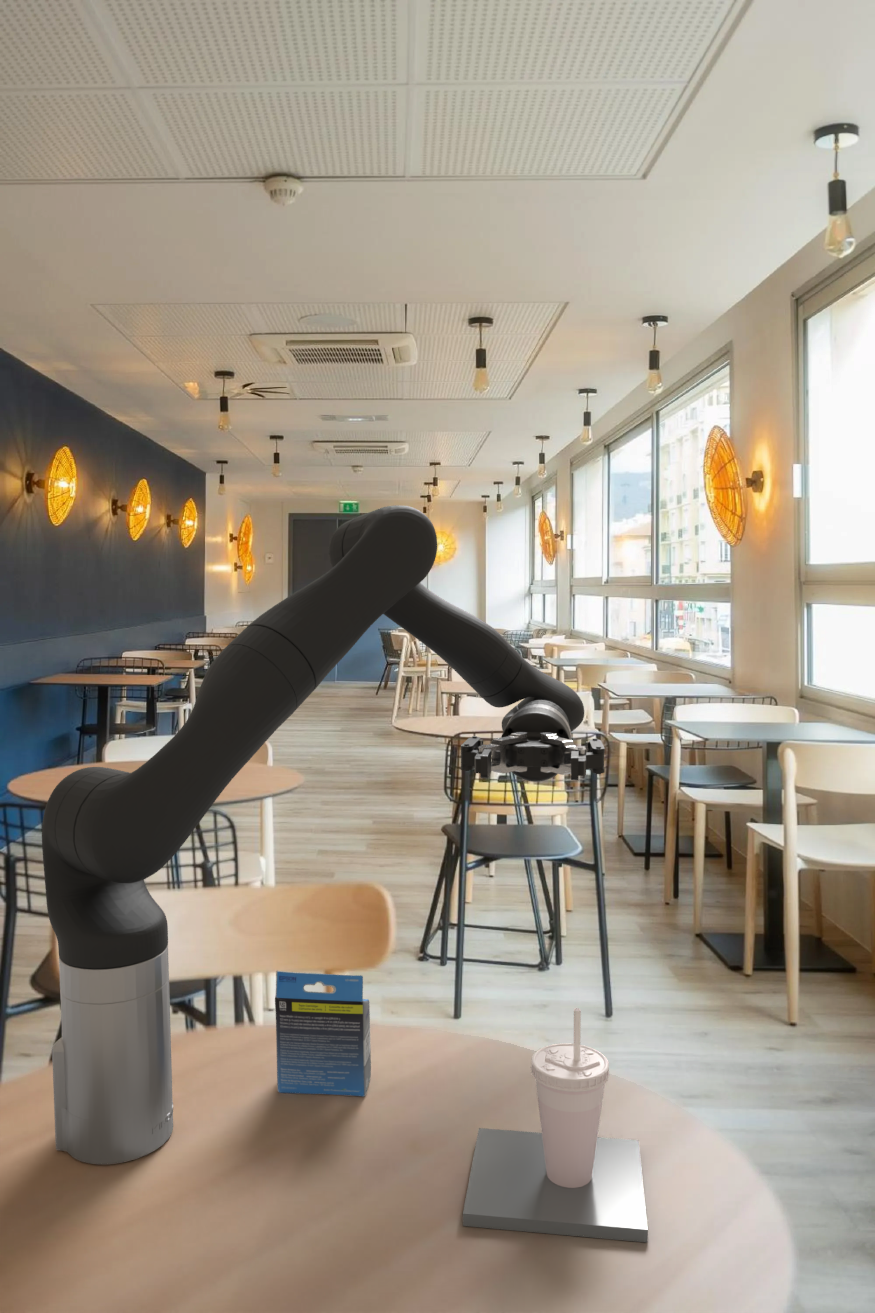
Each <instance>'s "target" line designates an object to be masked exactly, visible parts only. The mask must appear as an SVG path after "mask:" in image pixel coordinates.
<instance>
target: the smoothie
mask: <svg viewBox="0 0 875 1313" xmlns="http://www.w3.org/2000/svg"><path fill="white" fill-rule="evenodd" d="M581 1011H582V1010H581V1008H579V1007H575V1008H573V1043H570V1042H565V1043H564V1042H563V1043H562V1042H561V1043H560V1042H559V1043H553V1044H548V1045H544V1046H542V1047H540V1048H539V1049H538V1050H536V1051H535V1052H534V1053H533V1054H532V1056H531V1066H530V1074H531V1076H532V1077H533V1078H534V1080H535V1088H536V1095H537V1096H536V1097H537V1104H538V1112H539V1121H540V1128H541V1129H540V1130H541V1133H542V1138H543V1147H544V1155H545V1164H546V1172H547V1176H548V1178H549V1179H550V1180H551V1181H552V1182H553V1183H555V1184H557V1185H559V1186H562V1187H567V1188H577V1187H582V1186H584V1185H586V1184H588V1183H589V1182H590V1181H591V1178H592V1172H593V1165H594V1157H595V1150H596V1143H597V1137H599V1135H598V1134H599V1129H600V1128H599V1127H600V1122H601V1120H600V1119H601V1114H602V1113H601V1112H602V1105H603V1099H604V1093H605V1084H606V1083H607V1082H608V1081H609V1078H610V1075H611V1073H610V1062H609V1060H608V1058H607V1056H605V1055H604V1054H603V1053H602V1052H600V1051H599V1050H598V1049H595V1048H593V1047H590V1046H587V1045H584V1044H581V1038H582V1037H581V1034H582V1033H581V1031H582V1030H581V1029H582V1028H581V1027H582V1026H581V1025H582V1024H581V1022H582V1021H581V1020H582V1018H581V1017H582V1012H581Z"/></svg>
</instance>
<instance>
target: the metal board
mask: <svg viewBox="0 0 875 1313" xmlns="http://www.w3.org/2000/svg"><path fill="white" fill-rule="evenodd" d="M477 1130H478V1131H477V1136H476V1142H475V1148H474V1153H473V1158H472V1162H471V1168H470V1173H469V1177H468V1178H469V1180H468V1184H467V1190H466V1193H465V1194H466V1195H465V1199H464V1205H463V1212H462V1227H472V1228H480V1229H481V1228H482V1229H494V1230H505V1231H516V1232H528V1233H538V1234H549V1235H550V1234H551V1235H560V1236H571V1237H583V1238H593V1239H604V1240H615V1241H627V1242H636V1243H637V1242H640V1243H648V1242H649V1241H648V1240H649V1237H648V1236H649V1228H648V1218H647V1209H646V1198H645V1189H644V1188H645V1187H644V1178H643V1170H642V1159H641V1158H642V1157H641V1149H640V1140H639V1139H630V1138H617V1137H616V1138H615V1137H607V1136H606V1137H603V1136H597V1143H596V1150H595V1157H594V1165H593V1172H592V1178H591V1181H590V1182H589V1183H588V1184H586V1185H584V1186H582V1187H577V1188H567V1187H562V1186H559V1185H557V1184H555V1183H553V1182H552V1181H551V1180H550V1179H549V1178H548V1176H547V1172H546V1164H545V1155H544V1147H543V1138H542V1132H536V1131H524V1130H509V1129H498V1128H497V1129H496V1128H485V1127H484V1128H483V1127H478V1129H477Z"/></svg>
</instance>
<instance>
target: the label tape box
mask: <svg viewBox="0 0 875 1313" xmlns="http://www.w3.org/2000/svg"><path fill="white" fill-rule="evenodd" d="M317 983H319V984H321V985H322V987H331V988H333V991H332V992H328V991H327V992H325V991H308V990H306V989H305V986H315V985H316V984H317ZM363 991H364V976H363V975H362V974H360V975H359V974H358V975H357V974H356V975H355V974H335V973H334V974H333V973H331V974H330V973H318V972H315V973H314V972H293V971H282V970H276V971H275V996H274V997H275V998H274V1007H275V1036H276V1039H275V1040H276V1041H275V1042H276V1079H277V1080H276V1082H277V1083H276V1084H277V1085H276V1086H277V1092H278V1093H279V1094H296V1095H297V1094H298V1095H299V1094H300V1095H302V1094H303V1095H334V1096H351V1097H353V1096H356V1097H366V1095H367V1093H368V1092H367V1091H368V1087H369V1085H370V1081H371V1076H372V1060H371V1059H372V1055H371V1053H372V1052H371V1050H372V1049H371V1048H372V1047H371V1045H372V1044H371V1019H370V1018H371V1013H370V1012H371V1011H370V1007H371V1006H370V1000H369V998H367V999H364V998H363V997H364V996H363V995H364V994H363V993H364V992H363Z"/></svg>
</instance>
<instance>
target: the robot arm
mask: <svg viewBox="0 0 875 1313" xmlns="http://www.w3.org/2000/svg"><path fill="white" fill-rule="evenodd" d="M437 537H438V536H437V532H436V529H435V527H434V524H433V522H432V521H431V520H430V519H429V517H428V516H427V515H426V514H425V513H423V512H422V511H421V510H419V509H417V508H415V507H412V506H409V505H399V504H396V505H394V504H393V505H387V506H383V507H380V508H377V509H375V510H372V511H369V512H366V513H364V514H361V515H359V516H356V517H354V518H351V519H350V520H347V521H344V523H342V524H341V525H339V526H338V527H337V528H336V529H335V531H334V532H333V534H332V535H331V537H330V541H329V545H328V558H329V562H330V566H331V569H329V570H328V571H327V572H325V573H324V574H323V575H321V576H320V577H319V578H317V579H315V580H314V581H312V582H310V583H309V584H307V585H305V586H303V587H302V588H301V589H298V590H297V591H295V592H293V593H292V594H290V595H289V596H287V597H286V598H284V599H282V600H280V602H278V603H277V604H275V605H274V606H272V607H271V608H268V609H267V610H266V611H265V612H263V613H262V614H260V615H259V616H258V617H257V618H256V619H255V620H253V621H251V623H250V624H248V625H247V626H246V627H245V628H244V629H243V630H242V631H241V632H240V633H239V634H238V635H237V636H235V638H233V640H232V641H230V642H229V643H228V644H227V645H226V647H224V648H223V649H222V650H221V652H220V653H219V654H217V656H216V657H215V659H213V661H212V662H211V664H210V665H209V667H208V669H207V671H206V673H205V674H204V676H203V680H202V682H201V684H200V687H199V690H198V693H197V696H196V699H195V701H194V705H193V707H192V710H191V712H190V715H189V716H188V718H187V719H186V721H185V722H184V723H183V725H182V727H181V728H180V729H179V730H178V731H177V733H175V735H174V736H173V737H172V738H171V739H170V740H169V741H168V742H167V743H165V744H164V746H162V747H161V749H160V750H159V751H157V752H156V753H155V754H154V755H153V756H152V757H150V758H149V759H148V760H147V761H145V762H144V763H143V764H142V765H141V766H138V768H137V769H135V770H134V771H132V772H129V771H124V770H120V769H115V768H111V767H103V766H89V767H83V768H80V769H78V770H75V771H72V772H71V773H70V774H68V775H67V776H65V777H64V778H63V779H62V780H60V782H59V783H57V785H56V786H55V788H54V789H53V791H52V792H51V794H50V796H49V798H48V800H47V802H46V805H45V809H44V813H43V817H42V823H41V824H42V825H41V826H42V827H41V828H42V829H41V832H42V833H41V846H42V848H41V849H42V862H43V874H44V877H43V878H44V886H45V889H44V890H45V898H46V899H45V900H46V908H47V909H46V910H47V915H48V919H49V922H50V925H51V928H52V930H53V932H54V934H55V937H56V941H57V945H58V948H57V949H58V968H59V970H58V972H59V990H60V992H59V995H60V1020H61V1022H60V1023H61V1037H60V1038H59V1039H58V1040H56V1042H54V1044H53V1045H52V1047H51V1053H52V1054H51V1058H52V1059H51V1060H52V1061H51V1062H52V1080H53V1081H52V1082H53V1083H52V1084H53V1110H54V1111H53V1112H54V1113H53V1114H54V1134H55V1135H54V1137H55V1140H54V1141H55V1142H54V1143H55V1151H64V1152H66V1153H68V1154H69V1155H70V1156H71V1157H72V1158H73V1159H75V1160H77V1161H79V1162H82V1163H87V1164H90V1165H92V1164H93V1165H114V1164H120V1163H121V1164H122V1163H127V1162H129V1161H132V1160H133V1161H134V1160H137V1159H139V1158H142V1157H144V1156H147V1155H149V1154H150V1153H152V1152H154V1151H156V1150H157V1149H159V1148H160V1147H162V1146H163V1145H164V1144H165V1143H166V1142H167V1141H168V1140H169V1139H170V1137H171V1136H172V1133H173V1129H174V1102H173V1101H174V1100H173V1069H172V1068H173V1067H172V1065H173V1064H172V1035H171V1034H172V1033H171V1029H172V1028H171V1005H170V1004H171V1002H170V998H171V996H170V971H169V968H170V966H169V930H168V929H169V928H168V927H169V926H168V920H167V916H166V913H165V911H164V910H163V909H162V907H161V906H160V905H159V904H158V903H157V902H156V900H155V899H154V898H153V896H152V895H151V894H150V890H148V889H149V888H147V885H146V884H145V880H146V879H147V878H150V877H152V876H153V875H154V874H156V873H158V872H159V871H160V870H161V869H162V868H164V867H165V865H166V864H168V863H169V861H171V860H172V859H173V857H174V856H175V855H176V854H177V853H178V851H179V850H180V849H181V847H182V846H183V845H184V844H185V842H186V841H187V840H188V838H189V837H190V835H191V834H192V833H193V832H194V830H195V829H196V827H197V826H198V825H199V823H200V822H201V821H202V820H203V818H204V817H205V816H206V814H207V812H208V811H209V810H210V809H211V807H212V806H213V805H214V803H215V802H216V801H217V799H219V797H220V795H221V794H222V793H223V791H224V790H225V788H226V787H227V786H228V785H229V784H230V783H231V781H232V780H233V779H235V776H236V775H237V774H239V772H240V771H241V770H242V769H243V768H244V766H246V764H247V763H248V762H249V761H250V760H251V758H253V756H255V755H256V753H257V752H258V751H259V750H260V749H261V747H262V746H263V745H264V744H265V743H266V741H268V740H269V739H270V737H271V736H272V735H273V734H274V733H276V731H277V730H278V728H280V727H281V726H282V725H283V724H284V723H285V722H286V721H287V720H288V719H289V718H290V717H291V716H292V715H293V714H294V712H295V711H297V709H298V708H299V707H300V706H301V705H302V704H303V703H304V701H305V700H307V699H308V697H309V696H310V695H311V694H312V693H313V692H314V691H315V690H316V689H317V688H318V687H319V685H320V684H321V683H322V681H323V680H324V679H325V678H326V677H327V676H328V674H329V673H331V671H332V670H333V669H334V668H335V667H336V666H337V665H338V663H340V661H341V660H342V659H343V658H344V657H345V656H346V655H347V654H348V653H349V651H351V649H352V648H353V647H354V646H355V645H356V643H357V642H358V641H359V640H360V639H361V638H362V637H363V635H364V634H365V633H366V632H367V631H368V629H369V628H370V627H371V626H372V625H373V624H374V623H375V622H376V621H377V620H378V619H379V618H381V617H382V615H384V616H385V617H387V618H388V619H389V620H391V621H392V622H393V623H395V624H396V625H398V626H399V627H401V628H402V629H403V630H404V631H406V632H407V633H409V634H410V635H411V636H413V637H414V638H415V639H417V641H419V642H421V643H422V644H424V646H426V647H427V648H428V649H429V650H431V651H432V652H433V653H435V655H437V656H438V657H439V658H441V659H442V660H443V661H444V662H445V663H446V664H447V665H448V666H449V667H450V668H452V669H453V670H454V671H455V672H456V673H457V675H459V676H460V678H462V680H464V681H465V682H466V683H467V684H468V685H469V686H470V687H471V688H472V690H474V691H475V692H476V693H477V694H478V695H479V697H481V699H483V700H484V701H485V702H486V703H487V704H489V705H490V706H491V707H495V708H504V707H505V708H506V707H509V706H511V705H513V704H516V703H517V702H518V704H516V705H515V706H514V707H512V709H510V710H509V711H508V712H507V713H506V714H505V715H504V716H503V718H502V721H501V730H502V734H501V737H497V738H493V739H492V740H491V743H489V744H484V739H481V737H479V736H476V735H474V736H471V737H470V736H469V738H467V739H466V740H465V741H464V742H463V743H462V744H461V745H460V770H462V771H464V772H469V771H473V770H474V771H473V772H474V773H475V774H480V778H481V779H488V778H489V776H490V774H491V773H492V772H493V773H499V774H508V773H512V774H513V775H515V776H516V777H518V778H520V779H522V780H523V781H528V782H537V783H539V782H544V781H548V780H550V779H552V778H554V777H556V776H558V775H560V776H563V775H570V781H579V777H583V776H587V770H591V772H592V773H593V774H595V775H602V774H604V773H605V772H606V771H605V770H606V769H605V768H606V767H605V753H606V750H605V749H606V748H605V746H604V743H603V741H602V740H601V739H598V738H597V737H596V738H592V739H589V740H587V741H585V743H584V745H585V746H578V745H577V746H576V744H575V742H574V740H572V732H573V731H575V730H576V729H577V728H578V727H579V726H580V725H581V724H582V722H584V721H583V720H584V718H585V706H584V703H583V701H582V699H581V697H580V696H579V695H578V694H577V692H575V690H574V689H573V688H571V687H570V686H569V685H567V684H565V683H564V682H562V681H560V680H558V679H556V678H555V677H552V676H550V675H549V674H547V673H545V672H543V671H541V670H540V669H538V668H537V667H536V666H533V665H532V664H531V663H529V662H528V661H527V660H526V659H525V658H523V656H522V655H521V654H520V653H519V652H518V651H517V650H516V649H515V648H514V646H512V645H511V644H510V643H509V641H507V639H506V638H504V636H503V635H501V633H500V632H498V631H497V630H496V629H495V628H494V627H493V626H491V625H490V624H488V623H487V622H485V621H483V620H482V619H480V618H479V617H477V616H475V615H473V614H471V613H470V612H468V611H466V610H464V609H462V608H460V607H458V606H456V605H454V604H453V603H451V602H449V601H447V600H446V599H443V598H442V597H440V596H439V595H437V594H435V593H434V592H433V591H431V590H430V589H428V588H427V587H426V586H425V585H424V584H423V583H422V582H423V581H424V580H425V578H426V577H427V576H428V574H429V573H430V571H432V568H433V566H434V564H435V562H436V558H437V551H438V538H437Z"/></svg>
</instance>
